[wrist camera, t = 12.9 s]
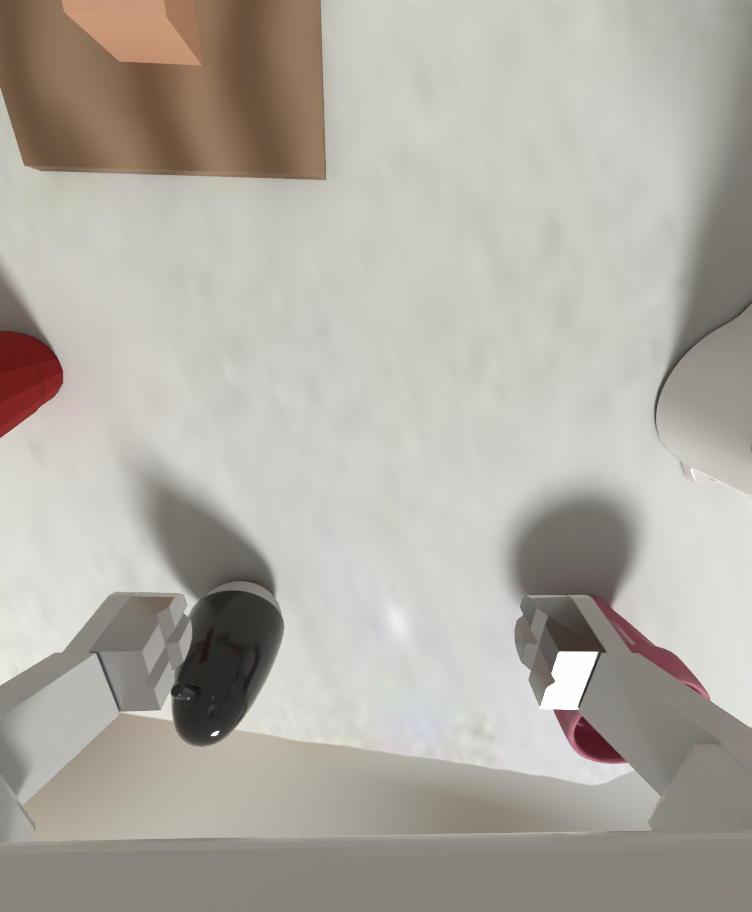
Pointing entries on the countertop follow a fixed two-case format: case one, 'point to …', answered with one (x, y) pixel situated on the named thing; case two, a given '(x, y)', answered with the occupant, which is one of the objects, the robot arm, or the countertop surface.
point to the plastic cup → (25, 378)
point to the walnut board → (169, 94)
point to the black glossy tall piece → (225, 661)
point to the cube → (141, 29)
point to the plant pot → (571, 720)
